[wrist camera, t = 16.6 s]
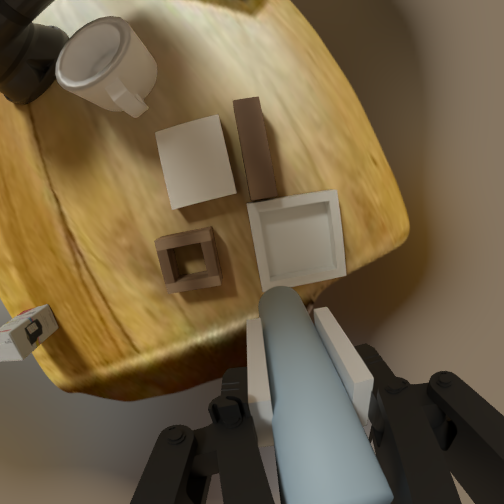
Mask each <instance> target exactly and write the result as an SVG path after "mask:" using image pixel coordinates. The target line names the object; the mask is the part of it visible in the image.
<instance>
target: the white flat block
mask: <svg viewBox="0 0 504 504" xmlns="http://www.w3.org/2000/svg"><path fill="white" fill-rule="evenodd" d="M155 136H156V141H157V146H158V151H159V155H160V160H161V165H162V169H163V174H164V178H165V182H166V187H167V191H168V195H169V199H170V203H171V207H172V210H173V209H177V208H181V207H184V206H188V205H192V204H196V203H200V202H204V201H208V200H211V199H216V198H220V197H224V196H228V195H232V194H236V193H237V191H236V186H235V182H234V178H233V174H232V169H231V165H230V161H229V156H228V152H227V148H226V144H225V139H224V135H223V131H222V126H221V122H220V118H219V115H218V114H216V115H212V116H208V117H205V118H201V119H197V120H193V121H190V122H186V123H183V124H179V125H176V126H173V127H170V128H166V129H163V130H160V131H157V132H155Z"/></svg>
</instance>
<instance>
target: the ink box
mask: <svg viewBox="0 0 504 504" xmlns="http://www.w3.org/2000/svg"><path fill="white" fill-rule="evenodd" d="M58 328H59V327H58V325H57V323H56V320H55V318H54V316H53V313H52V311H51V309H50V307H49V305H48V304H46V305H43V306H40V307H36V308H33V309H29V310H26V311H23V312H22V313H20V314H19V315H17V316H16V317H14V318H13V319H12V320H10V321H9V322H7V323H6V324H4V325H3V326H2V327H0V361H19V360H24V359H25V358H26V357H27V356H28V355H29V354H30V353H31V352H32V351H34V350H35V349H36V348H37V347H38V346H39V345H40V344H41V343H42V342H43V341H45V340H46V339H47V338H48V337H49V336H50V335H51V334H52V333H54V332H55V331H56V330H57V329H58Z"/></svg>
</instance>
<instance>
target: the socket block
mask: <svg viewBox="0 0 504 504" xmlns="http://www.w3.org/2000/svg"><path fill="white" fill-rule="evenodd" d="M154 242H155V246H156V250H157V254H158V258H159V262H160V266H161V270H162V274H163V277H164V281H165V285H166V288H167V292H168V294H171V293H177V292H183V291H189V290H196V289H202V288H208V287H213V286H219V285H221V283H222V278H223V277H222V273H221V268H220V263H219V259H218V254H217V249H216V245H215V240H214V235H213V230H212V226H211V227H206V228H201V229H196V230H191V231H186V232H181V233H176V234H171V235H167V236H162V237H160V238H158V239H157V240H155V241H154ZM196 243H201V246H202V251H203V255H204V260H205V264H206V269H207V271H203V272H198V273H192V274H186V275H180V274H179V270H178V266H177V262H176V258H175V254H174V250H173V248H175V247H180V246H185V245H190V244H196Z"/></svg>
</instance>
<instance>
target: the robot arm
mask: <svg viewBox="0 0 504 504" xmlns="http://www.w3.org/2000/svg"><path fill="white" fill-rule="evenodd" d="M53 1H55V0H0V92H1V93H3V94H4V96H5V98H6V99H7V100H9V101H10V102H13V103H17V104H27V103H29V102H31V101H33V100H35V99H36V98H38V97H39V96H40V95H41V94H42V93H43V92H44V91H45V90H46V89H47V88H48V87H49V86H50V85H51V83H52V82H53V81H54V79H55V78H56V75H55V71H56V62H57V60H58V57H59V54H60V52H61V50H62V49H63V47H64V45H65V44H66V42H67V41H68V40H69V39H68V36H67V34H66V33H65V32H64V31H62V30H61V29H60V28H58V27H55V26H45V25H41V24H34V23H32V21H33V20H34V19H35V18H36V17H37V16H38V15H39V14H40V13H41V12H42V11H43V10H44V9H46V8H47V7H48V6H49V5H50V4H51V3H52V2H53ZM314 319H315V328H316V330H317V332H318V334H319V336H320V338H321V340H322V342H323V344H324V346H325V348H326V350H327V352H328V355H329V357H330V359H331V361H332V363H333V365H334V367H335V369H336V371H337V373H338V375H339V377H340V379H341V382H342V384H343V386H344V388H345V390H346V392H347V394H348V396H349V398H350V400H351V403H352V405H353V407H354V409H355V411H356V413H357V415H358V418H359V420H360V422H361V424H362V426H366V425H367V421H368V417H369V419H370V421H371V423H372V426H371V431H370V436H369V442H370V443H371V441H372V440H373V444H374V448H375V452H376V457H377V459H378V462H379V464H380V466H381V468H382V471H383V473H384V475H385V477H386V480H387V482H388V484H389V487H390V489H391V491H392V494H393V496H394V498H393V500H392V502H391V503H390V504H462V503H461V501H460V498H459V495H458V492H457V489H456V486H455V484H454V481H453V478H452V476H451V473H452V474H453V476H454V477H455V478H456V480H457V481H458V482H459V483H460V485H461V486H462V487H463V489H464V490H465V491H466V493H467V494H468V495H469V496H470V498H471V499H472V500H473V502H474V503H475V504H504V416H503V415H502V414H501V413H500V412H498V411H497V410H496V409H495V408H494V407H493V406H492V405H490V404H489V403H488V402H487V401H486V400H485V399H484V398H482V397H481V396H480V395H479V394H478V393H477V392H475V391H474V390H473V389H472V388H471V387H470V386H468V385H467V384H466V383H465V382H464V381H463V380H461V379H460V378H459V377H458V376H457V375H455V374H454V373H452V372H448V371H440V372H437V373H435V374H433V375H432V376H431V378H430V380H429V383H423V384H410V383H409V382H408V381H407V380H405V379H403V378H400V377H396V376H395V375H394V374H393V372H392V371H391V370H390V368H389V367H388V366H387V364H386V363H385V362H384V361H383V359H382V358H381V356H380V355H379V354H378V352H377V351H376V350H375V348H373V347H372V346H370V345H368V344H362V345H359V346H353V345H352V343H351V342H350V340H349V339H348V337H347V336H346V334H345V333H344V331H343V330H342V328H341V327H340V325H339V324H338V322H337V321H336V319H335V318H334V316H333V315H332V313H331V312H330V310H329V309H328V307H322V308H317V309H314ZM221 390H222V391H221V396H218V397H217V398H215V399H213V400H212V402H211V403H210V404H209V408H208V410H209V413H210V416H211V418H212V421H213V423H212V424H210V425H209V426H206V427H204V428H200V429H197V430H193V431H192V430H191V429H190V428H189V427H187V426H184V425H173V426H170V427H167V428H166V429H164V430H163V431H162V432H161V433H160V435H159V437H158V439H157V441H156V443H155V446H154V448H153V451H152V453H151V455H150V457H149V460H148V462H147V465H146V467H145V469H144V472H143V474H142V476H141V479H140V481H139V483H138V486H137V488H136V491H135V493H134V495H133V498H132V500H131V502H130V504H206V500H207V495H208V491H209V486H210V481H211V476H212V475H213V474H217V473H219V474H220V482H221V488H222V495H223V502H224V504H275V503H274V500H273V497H272V494H271V490H270V487H269V483H268V480H267V477H266V473H265V470H264V466H263V463H262V460H261V456H260V452H259V448H258V446H259V447H266V446H274V440H273V431H272V418H273V411H272V403H271V395H270V387H269V379H268V371H267V363H266V355H265V347H264V339H263V331H262V324H261V318H256V319H249V320H247V367H240V368H231V369H227V371H226V372H225V374H224V375H223V380H222V389H221ZM450 472H451V473H450Z"/></svg>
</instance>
